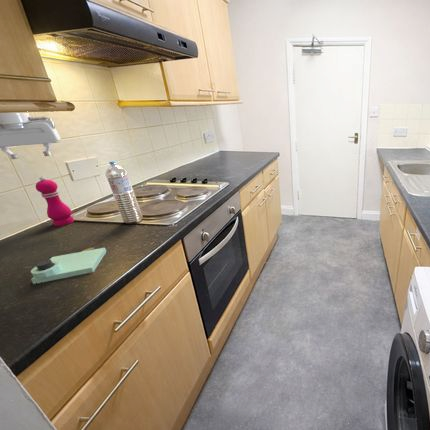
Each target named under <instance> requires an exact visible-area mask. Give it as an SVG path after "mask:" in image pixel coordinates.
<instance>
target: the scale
mask: <svg viewBox="0 0 430 430" xmlns="http://www.w3.org/2000/svg"><path fill="white" fill-rule="evenodd" d="M107 252H108V251H107V249H106V248H105V247H101V248H94V249H89V250H84V251H79V252H72V253H67V254H61V255H56V256H52V257H50V259H49V260H51V261H52V263H53V265H54V266H53V267H51V268H49V269H46V270H43V271H39V270H38V268H37V267H36V266H34V267H33V268H31V270H30V273H31V275H32V278H31V279H30V281H31V282H32V284H33V285H37V284H41V282H42V283H46V282H51V281H55V280H61V279H62V280H63V279H66V278H71V277H77V276H82V275H85V274H86V275H87V274H91V273H94V272H95V271H96V270H97V268H98V266H99V264H101V261H102V260H103V259H104V256H105V255H106V254H107ZM36 283H37V284H36Z"/></svg>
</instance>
